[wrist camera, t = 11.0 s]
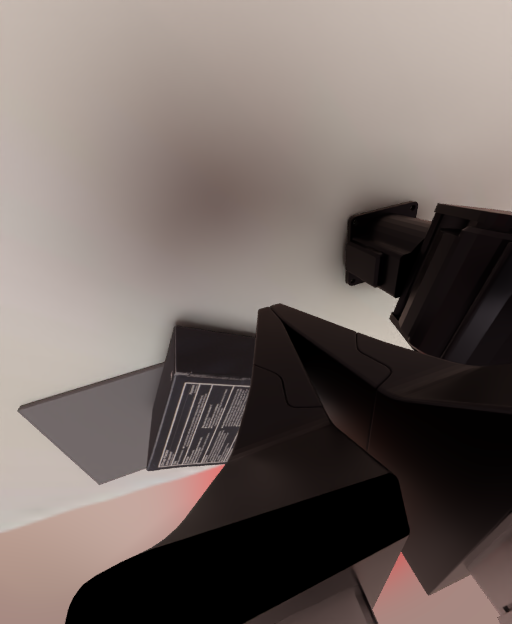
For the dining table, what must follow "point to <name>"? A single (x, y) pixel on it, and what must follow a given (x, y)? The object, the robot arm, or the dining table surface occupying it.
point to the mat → (101, 423)
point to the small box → (200, 399)
